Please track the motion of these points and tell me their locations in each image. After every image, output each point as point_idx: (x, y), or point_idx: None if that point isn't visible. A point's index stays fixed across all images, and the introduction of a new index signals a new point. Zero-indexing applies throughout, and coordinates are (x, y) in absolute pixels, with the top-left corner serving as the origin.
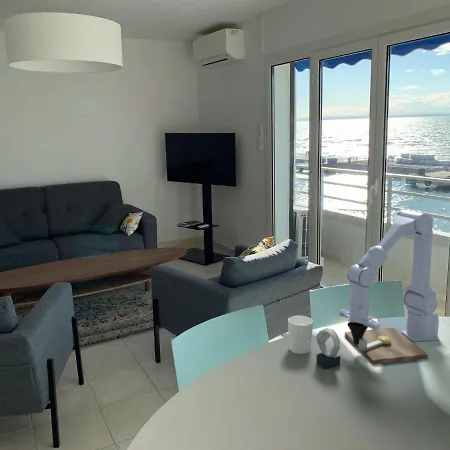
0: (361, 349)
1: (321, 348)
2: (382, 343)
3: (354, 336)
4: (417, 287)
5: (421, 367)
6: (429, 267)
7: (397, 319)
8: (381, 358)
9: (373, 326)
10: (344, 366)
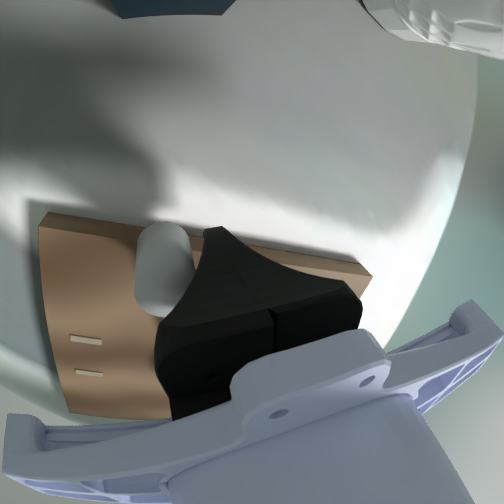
0: (148, 231)
1: None
2: None
3: (226, 256)
4: None
5: (15, 358)
6: None
7: None
8: (46, 277)
9: (17, 454)
10: (96, 36)
